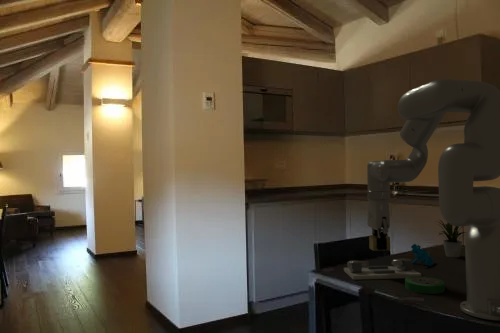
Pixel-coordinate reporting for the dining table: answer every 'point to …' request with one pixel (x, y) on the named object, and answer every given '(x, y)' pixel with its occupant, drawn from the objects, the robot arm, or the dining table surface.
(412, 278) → the tape roll
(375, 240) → the tan box with knob
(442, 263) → the dining table surface
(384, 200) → the robot arm
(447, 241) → the house plant
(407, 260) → the shaft right
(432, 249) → the dining table surface
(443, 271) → the dining table surface
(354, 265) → the shaft left
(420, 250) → the dark teal lobed piece
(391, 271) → the mounting base plate
